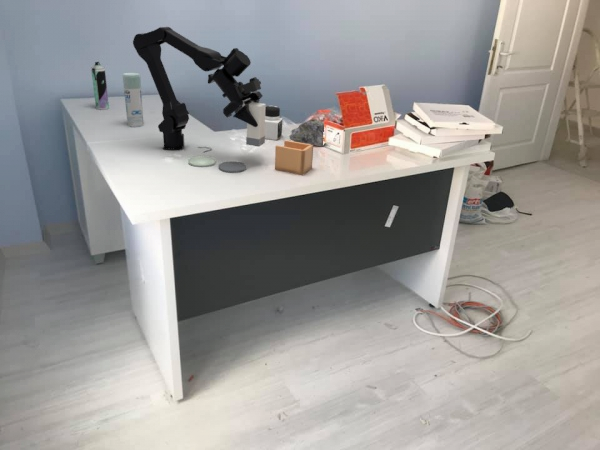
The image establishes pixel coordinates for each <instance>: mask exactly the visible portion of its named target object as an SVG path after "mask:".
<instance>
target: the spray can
mask: <svg viewBox="0 0 600 450" xmlns="http://www.w3.org/2000/svg"><path fill="white" fill-rule="evenodd" d="M90 71H91V78H92V85H93V93H94V103H95V108H96V110H100V111H101V110H103V111H104V110H109V109H110V105H109V103H110V102H109V96H108V86H107V85H108V84H107V78H106V77H107V76H106V69H105V67H104V66H102V64H100V61H95V62H94V65H93V66H92V67H91V70H90Z"/></svg>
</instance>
